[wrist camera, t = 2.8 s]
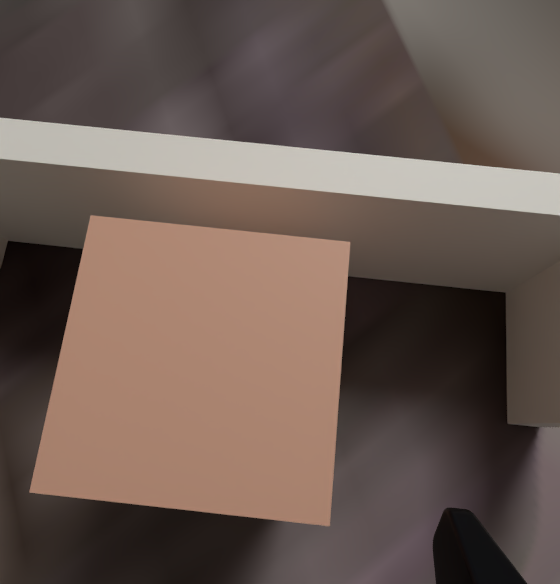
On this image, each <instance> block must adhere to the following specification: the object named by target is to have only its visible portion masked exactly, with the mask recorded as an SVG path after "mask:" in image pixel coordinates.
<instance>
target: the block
mask: <svg viewBox="0 0 560 584" xmlns="http://www.w3.org/2000/svg"><path fill="white" fill-rule="evenodd" d="M349 254H350V242H346V241H336V240H327V239H317V238H307V237H298V236H288V235H278V234H268V233H259V232H249V231H239V230H229V229H220V228H210V227H200V226H191V225H181V224H171V223H161V222H152V221H142V220H132V219H122V218H113V217H103V216H93V215H91V216H90V220H89V225H88V229H87V234H86V239H85V243H84V248H83V252H82V257H81V261H80V266H79V270H78V275H77V279H76V284H75V288H74V293H73V297H72V302H71V306H70V311H69V315H68V320H67V324H66V329H65V333H64V338H63V343H62V347H61V352H60V356H59V361H58V365H57V370H56V374H55V379H54V383H53V388H52V392H51V397H50V401H49V406H48V410H47V415H46V419H45V424H44V428H43V433H42V437H41V442H40V447H39V451H38V456H37V460H36V465H35V469H34V474H33V478H32V483H31V487H30V492H29V493H38V494H47V495H56V496H65V497H74V498H83V499H92V500H101V501H110V502H119V503H127V504H136V505H145V506H154V507H163V508H172V509H181V510H190V511H199V512H208V513H217V514H226V515H234V516H243V517H252V518H261V519H270V520H279V521H288V522H297V523H306V524H315V525H324V526H330V515H331V501H332V487H333V474H334V460H335V446H336V432H337V419H338V405H339V391H340V378H341V364H342V350H343V336H344V323H345V309H346V295H347V282H348V268H349Z"/></svg>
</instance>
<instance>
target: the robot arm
mask: <svg viewBox="0 0 560 584" xmlns="http://www.w3.org/2000/svg"><path fill="white" fill-rule="evenodd" d="M433 557H434V567H435V577H436V584H527V583H526V581H525V580H524V579H523V578H522V576H521V575H520V574H519V572H518V571H517V570H516V568H515V567H514V566H513V564H512V563H511V562H510V561H509V559H508V558H507V557H506V555H505V554H504V553H503V551H502V550H501V549H500V548H499V546H498V545H497V544H496V542H495V541H494V540H493V538H492V537H491V536H490V535H489V533H488V532H487V531H486V529H485V528H484V527H483V525H482V524H481V523H480V522H479V520H478V519H477V518H476V516H475V515H474V514H473V513H472V512H471V511H469V510H466V509H458V508H446V509H445V510H444V512H443V514H442V516H441V519H440V522H439V524H438V527H437V529H436V532H435V535H434V538H433Z"/></svg>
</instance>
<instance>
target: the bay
mask: <svg viewBox="0 0 560 584" xmlns="http://www.w3.org/2000/svg"><path fill="white" fill-rule="evenodd" d="M91 215H93V216H103V217H113V218H122V219H132V220H142V221H152V222H161V223H171V224H181V225H191V226H200V227H210V228H220V229H229V230H239V231H249V232H259V233H268V234H278V235H288V236H298V237H307V238H317V239H327V240H336V241H346V242H350V254H349V268H348V276H351V277H360V278H370V279H379V280H389V281H399V282H408V283H418V284H428V285H437V286H447V287H456V288H466V289H476V290H485V291H495V292H504V293H506V363H507V424H514V425H524V426H533V427H560V174H557V173H547V172H537V171H527V170H517V169H507V168H497V167H487V166H477V165H467V164H457V163H447V162H437V161H427V160H417V159H407V158H397V157H387V156H377V155H367V154H357V153H347V152H337V151H327V150H317V149H307V148H297V147H287V146H277V145H267V144H257V143H247V142H237V141H227V140H217V139H207V138H197V137H187V136H177V135H167V134H157V133H147V132H137V131H127V130H117V129H107V128H97V127H87V126H77V125H67V124H57V123H47V122H37V121H27V120H17V119H7V118H0V269H1V266H2V262H3V258H4V254H5V250H6V247H7V243H8V241H14V242H24V243H33V244H43V245H52V246H62V247H72V248H81V249H83V248H84V243H85V239H86V234H87V229H88V225H89V220H90V216H91Z"/></svg>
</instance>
